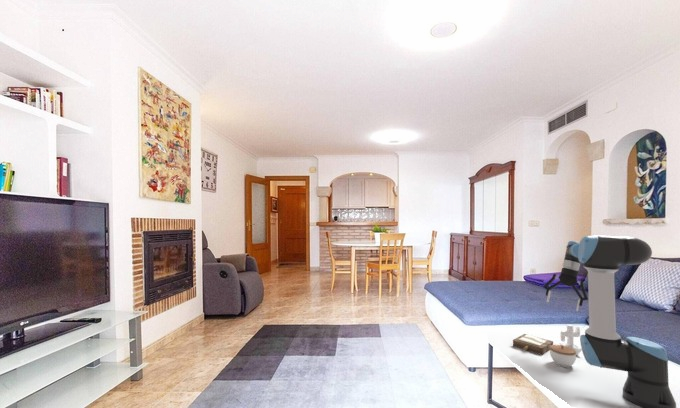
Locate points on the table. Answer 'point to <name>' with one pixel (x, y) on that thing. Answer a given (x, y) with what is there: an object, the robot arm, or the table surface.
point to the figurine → (571, 337)
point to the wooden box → (532, 344)
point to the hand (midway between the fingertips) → (561, 306)
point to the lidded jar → (563, 355)
